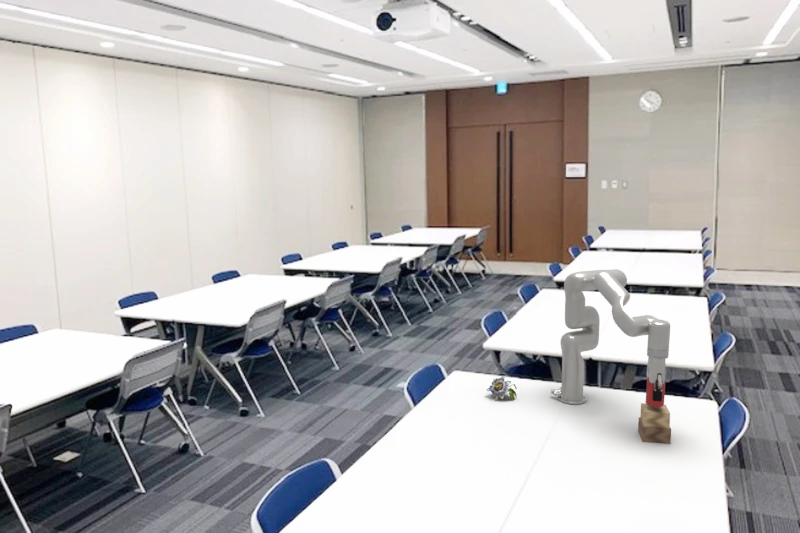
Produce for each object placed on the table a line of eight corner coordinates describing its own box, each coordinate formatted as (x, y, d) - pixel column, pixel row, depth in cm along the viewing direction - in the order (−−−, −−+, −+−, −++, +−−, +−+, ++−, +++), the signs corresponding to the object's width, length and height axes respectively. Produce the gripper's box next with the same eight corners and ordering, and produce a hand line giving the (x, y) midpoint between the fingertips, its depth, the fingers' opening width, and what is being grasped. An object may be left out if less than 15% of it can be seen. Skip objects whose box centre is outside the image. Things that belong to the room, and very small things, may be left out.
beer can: (659, 401, 243) (661, 372, 241) (666, 407, 237) (668, 377, 235) (642, 401, 243) (644, 372, 241) (649, 408, 237) (651, 377, 235)
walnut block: (642, 442, 238) (643, 427, 237) (638, 431, 248) (638, 417, 247) (670, 444, 236) (671, 429, 235) (664, 433, 246) (665, 419, 245)
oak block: (644, 426, 238) (644, 411, 237) (640, 417, 247) (641, 403, 246) (669, 428, 236) (670, 413, 235) (664, 419, 245) (665, 404, 244)
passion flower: (496, 411, 284) (481, 389, 284) (505, 399, 293) (490, 378, 293) (515, 402, 277) (499, 380, 278) (523, 390, 286) (508, 369, 286)
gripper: (643, 345, 246) (640, 388, 249) (651, 358, 229) (649, 405, 232) (663, 346, 244) (660, 390, 247) (673, 359, 227) (670, 406, 230)
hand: (655, 396), depth 239 cm, fingers closed on beer can, 6 cm apart
